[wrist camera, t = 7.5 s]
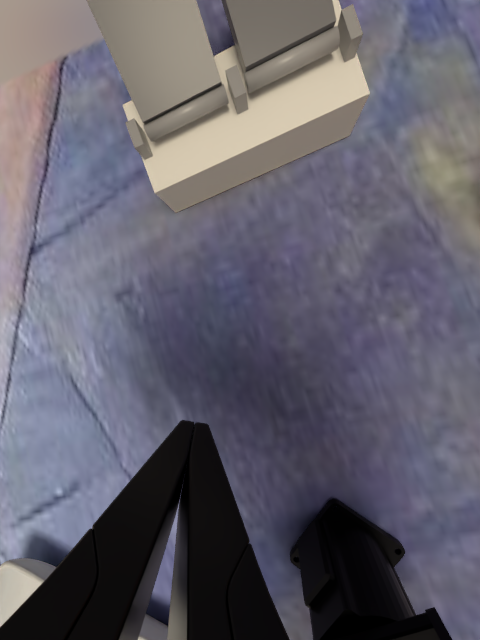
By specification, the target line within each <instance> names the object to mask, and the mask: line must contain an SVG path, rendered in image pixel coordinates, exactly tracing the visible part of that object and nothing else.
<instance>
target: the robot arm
mask: <svg viewBox="0 0 480 640" xmlns="http://www.w3.org/2000/svg"><path fill="white" fill-rule="evenodd" d="M193 429H194V430H193ZM192 434H193V435H192ZM186 465H187V466H186ZM185 470H186V471H185ZM184 475H185V476H184ZM183 480H184V481H183ZM182 485H183V486H182ZM181 490H182V491H181ZM180 495H181V497H180ZM179 500H180V503H179ZM178 504H179V511H178V522H177V533H176V544H175V556H174V567H173V579H172V590H171V601H170V613H169V624H168V636H167V640H290V639H289V637H288V635H287V633H286V631H285V628H284V626H283V624H282V621H281V619H280V617H279V614H278V612H277V610H276V608H275V605H274V603H273V601H272V598H271V596H270V594H269V591H268V588H267V586H266V583H265V581H264V578H263V575H262V573H261V570H260V568H259V565H258V562H257V559H256V557H255V554H254V551H253V548H252V545H251V544H249V537H248V535H247V532H246V529H245V526H244V523H243V521H242V518H241V515H240V512H239V509H238V506H237V504H236V501H235V498H234V495H233V492H232V490H231V487H230V484H229V481H228V478H227V476H226V473H225V470H224V467H223V464H222V461H221V459H220V456H219V453H218V450H217V447H216V445H215V442H214V439H213V436H212V433H211V431H210V428H209V425H208V424H206V423H199V422H196V423H195V425H194V422H192V421H185V420H182V421H180V422H179V424H178V425H177V426H176V427H175V428H174V430H173V431H172V432H171V433H170V434H169V436H168V437H167V438H166V439H165V440H164V441H163V443H162V444H161V445H160V446H159V447H158V449H157V450H156V451H155V452H154V453H153V454H152V456H151V457H150V458H149V459H148V460H147V462H146V463H145V464H144V465H143V466H142V468H141V469H140V470H139V471H138V472H137V473H136V475H135V476H134V477H133V478H132V479H131V481H130V482H129V483H128V484H127V485H126V487H125V488H124V489H123V490H122V491H121V492H120V494H119V495H118V496H117V497H116V498H115V500H114V501H113V502H112V503H111V504H110V505H109V507H108V508H107V509H106V510H105V511H104V513H103V514H102V515H101V516H100V517H99V519H98V520H97V521H96V522H95V523H94V524H93V527H92V529H89V530H88V531H87V532H86V534H85V535H84V536H83V537H82V538H81V540H80V541H79V542H78V543H77V544H76V546H75V547H74V548H73V549H72V550H71V551H70V552H69V554H68V555H67V556H66V557H65V558H64V559H63V560H62V562H61V563H60V564H59V565H58V566H57V567H56V568H55V569H54V571H53V572H52V573H51V574H50V575H49V576H48V577H47V579H46V580H45V581H44V582H43V583H42V584H41V585H40V586H39V587H38V588H37V589H36V590H35V591H34V592H33V593H32V594H31V595H30V596H29V598H28V599H27V600H26V601H25V602H24V603H23V604H22V605H21V606H20V607H19V608H18V609H17V610H16V611H15V612H14V613H13V614H12V615H11V616H10V618H9V619H8V620H7V621H6V622H5V623H4V624H3V625H2V626H1V627H0V640H138V638H139V634H140V631H141V628H142V624H143V621H144V618H145V614H146V611H147V608H148V604H149V601H150V598H151V595H152V591H153V588H154V585H155V581H156V578H157V575H158V571H159V568H160V565H161V561H162V558H163V555H164V551H165V548H166V545H167V542H168V538H169V535H170V532H171V528H172V525H173V522H174V518H175V515H176V512H177V508H178ZM334 506H336V508H333V507H334ZM404 554H405V550H404V548H403V546H402V544H401V543H400V542H399V541H397V540H396V539H394V538H393V537H391V536H390V535H388V534H387V533H385V532H384V531H383V530H381V529H380V528H378V527H377V526H375V525H374V524H372V523H371V522H369V521H368V520H366V519H365V518H363V517H362V516H360V515H359V514H357V513H356V512H354V511H353V510H351V509H350V508H348V507H347V506H345V505H344V504H342V503H341V502H339V501H338V500H336V499H332V500H330V501H329V502H328V503H327V505H326V506H325V507H324V508H323V510H322V511H321V512H320V514H319V515H318V516H317V518H316V519H314V520H313V521H312V523H311V524H310V525H309V526H308V528H307V529H306V530H305V532H304V533H303V534H302V536H301V537H300V538H299V539H298V541H297V544H296V545H295V546H294V547H293V549H292V550H291V552H290V560H291V562H292V563H293V564H294V565H295V566H297V567H298V568H299V569H301V578H302V587H303V595H304V601H305V605H306V606H307V607H309V609H310V617H311V625H312V632H313V640H452V638H451V637H450V635H449V633H448V631H447V629H446V628H445V626H444V624H443V622H442V620H441V618H440V617H439V615H438V613H437V611H436V609H435V607H434V608H430V609H427V610H425V611H426V613H423V614H419V615H416V614H415V611H414V609H413V607H412V605H411V603H410V601H409V599H408V597H407V594H406V592H405V590H404V588H403V586H402V584H401V582H400V580H399V577H398V575H397V573H396V571H395V569H394V567H395V565H396V564H397V563H398V562H399V561H400V560H401V558H402V557H403V556H404Z"/></svg>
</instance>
